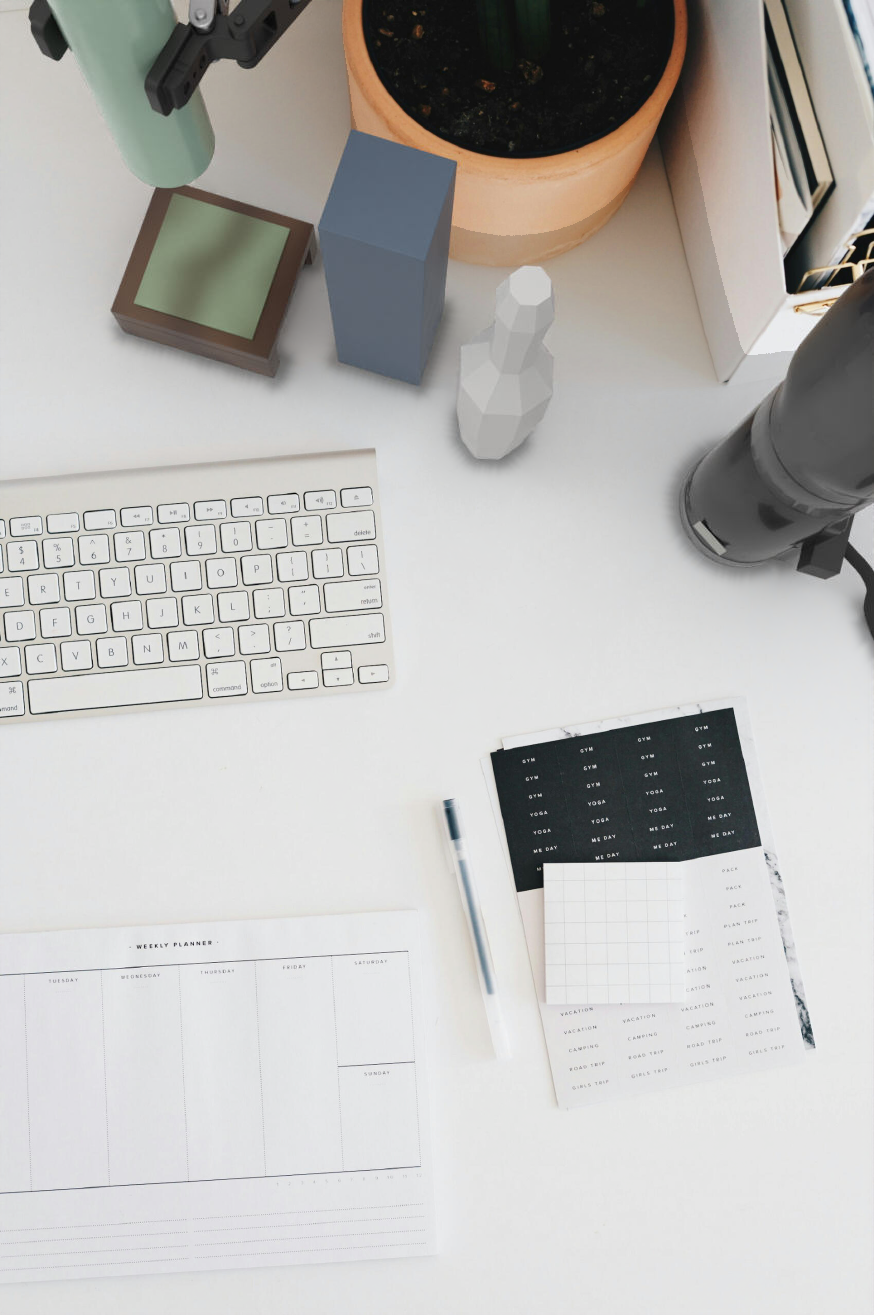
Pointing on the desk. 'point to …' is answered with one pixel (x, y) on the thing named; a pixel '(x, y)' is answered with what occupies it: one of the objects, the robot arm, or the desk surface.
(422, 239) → the plinth
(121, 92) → the mint green cylinder
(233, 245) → the brown green square block
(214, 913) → the desk surface
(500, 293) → the faceted bottle
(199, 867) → the desk surface
